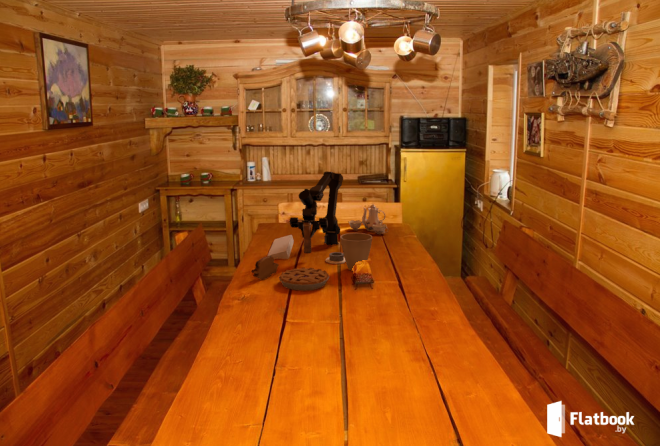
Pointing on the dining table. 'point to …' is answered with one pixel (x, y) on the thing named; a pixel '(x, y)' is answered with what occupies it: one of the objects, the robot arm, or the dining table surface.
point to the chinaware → (370, 221)
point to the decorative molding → (281, 247)
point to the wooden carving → (265, 268)
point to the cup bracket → (336, 258)
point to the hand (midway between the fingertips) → (306, 237)
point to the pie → (304, 278)
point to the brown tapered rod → (307, 237)
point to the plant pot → (355, 247)
